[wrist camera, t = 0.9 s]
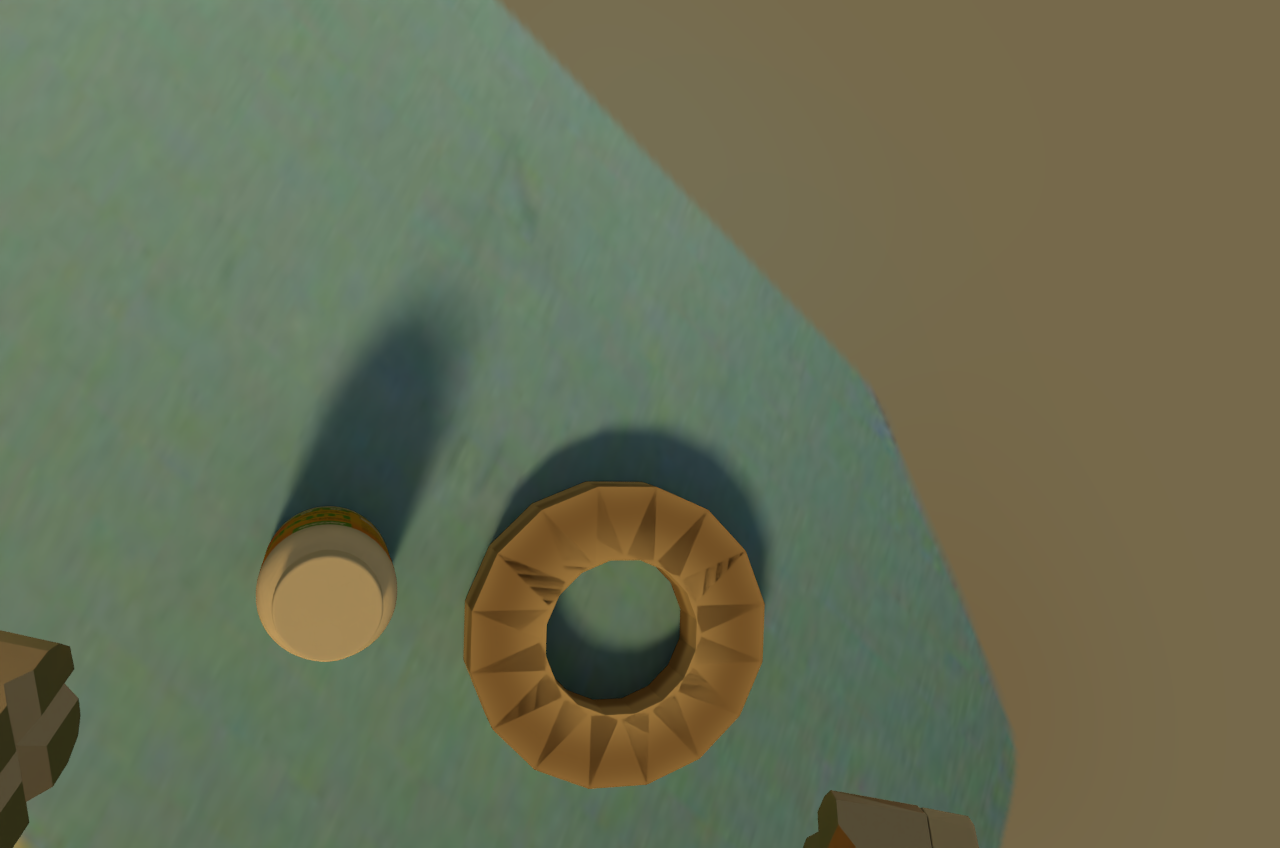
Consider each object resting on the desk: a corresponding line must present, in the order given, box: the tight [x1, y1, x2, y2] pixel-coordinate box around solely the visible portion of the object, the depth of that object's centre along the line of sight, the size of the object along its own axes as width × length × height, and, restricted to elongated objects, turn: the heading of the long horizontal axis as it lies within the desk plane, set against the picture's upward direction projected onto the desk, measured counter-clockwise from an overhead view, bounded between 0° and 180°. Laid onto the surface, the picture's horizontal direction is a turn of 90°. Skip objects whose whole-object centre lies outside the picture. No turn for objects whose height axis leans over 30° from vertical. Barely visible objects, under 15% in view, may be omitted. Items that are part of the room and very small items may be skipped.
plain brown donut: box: [464, 481, 764, 789], centre depth 52 cm, size 14×14×2 cm
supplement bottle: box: [256, 506, 397, 662], centre depth 45 cm, size 5×5×10 cm
